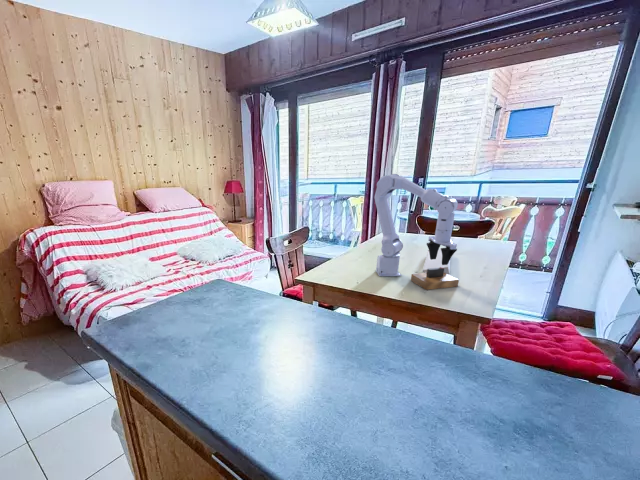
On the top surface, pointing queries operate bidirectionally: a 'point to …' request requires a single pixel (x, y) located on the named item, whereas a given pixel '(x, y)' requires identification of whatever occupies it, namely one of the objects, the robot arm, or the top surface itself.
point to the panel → (434, 281)
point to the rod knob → (435, 272)
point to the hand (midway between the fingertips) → (438, 261)
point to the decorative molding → (435, 263)
